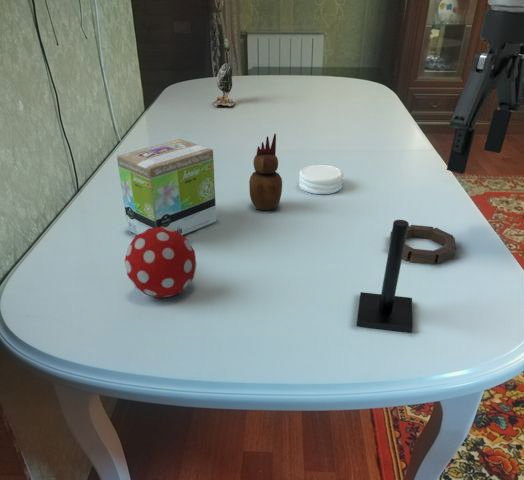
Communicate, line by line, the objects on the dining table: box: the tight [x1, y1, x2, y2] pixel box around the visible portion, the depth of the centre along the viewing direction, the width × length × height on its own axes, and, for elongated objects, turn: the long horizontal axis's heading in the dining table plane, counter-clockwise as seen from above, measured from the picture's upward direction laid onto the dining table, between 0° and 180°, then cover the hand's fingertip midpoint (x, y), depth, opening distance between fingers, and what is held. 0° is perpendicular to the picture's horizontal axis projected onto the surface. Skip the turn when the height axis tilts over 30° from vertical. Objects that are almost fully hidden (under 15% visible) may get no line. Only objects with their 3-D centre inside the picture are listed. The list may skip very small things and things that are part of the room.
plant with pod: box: [212, 37, 236, 107], centre depth 169 cm, size 8×11×20 cm
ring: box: [388, 224, 458, 265], centre depth 93 cm, size 12×12×2 cm
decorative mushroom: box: [124, 227, 197, 299], centre depth 82 cm, size 11×11×15 cm
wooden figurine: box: [248, 133, 283, 211], centre depth 103 cm, size 7×6×15 cm
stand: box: [355, 219, 414, 333], centre depth 73 cm, size 8×8×15 cm
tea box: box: [116, 138, 217, 236], centre depth 96 cm, size 15×10×15 cm, turn 137°
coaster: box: [298, 164, 344, 195], centre depth 116 cm, size 10×10×4 cm
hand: (474, 161), depth 85 cm, fingers open, 13 cm apart
